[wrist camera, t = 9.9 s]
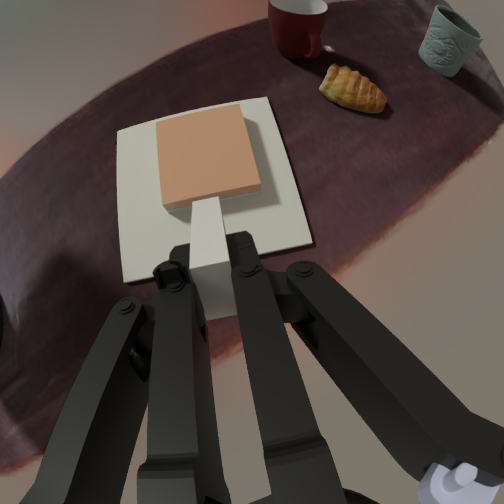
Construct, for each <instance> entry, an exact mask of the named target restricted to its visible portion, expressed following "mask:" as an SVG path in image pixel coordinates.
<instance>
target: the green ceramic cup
mask: <svg viewBox="0 0 504 504" xmlns="http://www.w3.org/2000/svg"><path fill="white" fill-rule="evenodd" d="M482 40H483V36H482V34H481V33H480V31H479V30H478V29H477V28H476V27H475V26H474V25H473V24H471V23H470V22H469V21H468V20H467V19H465V18H464V17H462V16H461V15H460V14H458V13H456V12H455V11H453V10H451V9H449V8H447V7H444V6H436V7H435V10H434V13H433V16H432V18H431V22H430V24H429V29H428V30H427V32H426V36H425V39H424V40H423V42H422V44H421V47H420V49H419V55H420V57H421V58H422V60H423V61H424V62H425V63H426V64H427V65H428V66H429V67H430V68H432V69H433V70H434V71H436V72H437V73H439V74H441V75H443V76H446V77H453V76H455V74H456V73H457V72H458V71H459V69H460V68H461V66H462V65H463V64H464V63H465V61H466V60H467V59H468V58H469V56H470V55H471V54H472V52H473V51H474V50H475V48H476V47H477V46H478V45H479V44H480V43H481V41H482Z"/></svg>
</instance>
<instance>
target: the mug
mask: <svg viewBox="0 0 504 504" xmlns="http://www.w3.org/2000/svg"><path fill="white" fill-rule="evenodd" d="M327 12H328V5H327V4H326V3H325V2H324V1H323V0H269V4H268V17H269V23H270V28H271V34H272V39H273V42H274V44H275V46H276V47H277V49H278V50H279V52H280V53H281V54H282V55H283V56H284V57H286V58H290V59H300V58H302V57H304V56H305V57H307V58H316V57H318V56H319V55H320V52H321V47H322V45H321V38H320V34H321V31H322V29H323V27H324V25H325V22H326V18H327Z"/></svg>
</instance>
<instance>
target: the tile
mask: <svg viewBox="0 0 504 504" xmlns="http://www.w3.org/2000/svg"><path fill="white" fill-rule="evenodd" d="M156 137H157V153H158V166H159V178H160V188H161V198H162V205H163V207H164V208H165V209H166V211H167V212H168V213H172V212H176V211H181V210H185V209H189V208H192V202H194V201H198V200H203V199H208V198H212V197H217V196H219V201H220V202H221V201H226V200H230V199H235V198H240V197H245V196H250V195H255V194H260V191H261V182H260V178H259V174H258V170H257V167H256V163H255V159H254V155H253V151H252V148H251V144H250V140H249V136H248V133H247V129H246V125H245V122H244V118H243V115H242V111H241V107H240V104H234V105H229V106H223V107H218V108H213V109H208V110H203V111H199V112H194V113H190V114H186V115H182V116H177V117H173V118H170V119H166V120H162V121H158V122H156Z"/></svg>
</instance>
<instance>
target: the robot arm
mask: <svg viewBox="0 0 504 504" xmlns="http://www.w3.org/2000/svg"><path fill="white" fill-rule="evenodd" d="M152 274H153V276H154V279H155V281H156V283H157V286H158V288H159V294H158V295H157V296H156V297H154V298H152V299H150V300H147V301H145V302H143V303H142V301H141V299H139V298H138V297H134V296H131V297H126V298H124V299H121V300H120V301H119V302H117V303H116V304H115V305H114V307H113V308H112V310H111V312H110V314H109V315H108V317H107V319H106V321H105V323H104V324H103V326H102V328H101V330H100V332H99V334H98V336H97V338H96V339H95V341H94V343H93V345H92V347H91V349H90V351H89V353H88V355H87V357H86V359H85V361H84V363H83V365H82V367H81V369H80V371H79V373H78V375H77V378H76V380H75V382H74V384H73V386H72V388H71V390H70V393H69V395H68V397H67V399H66V402H65V404H64V406H63V408H62V411H61V413H60V415H59V418H58V420H57V423H56V425H55V428H54V430H53V433H52V435H51V438H50V440H49V443H48V445H47V448H46V451H45V454H44V456H43V459H42V462H41V465H40V468H39V471H38V474H37V477H36V480H35V483H34V484H33V485H32V487H31V488H30V489H29V491H28V492H27V494H26V495H25V496H24V498H23V499H22V500H21V502H20V503H19V504H120V500H121V496H122V492H123V488H124V484H125V481H126V476H127V473H128V469H129V465H130V462H131V458H132V454H133V451H134V447H135V444H136V440H137V436H138V433H139V430H140V426H141V423H142V420H143V416H144V413H145V410H146V407H147V403H148V426H147V459H146V462H145V463H143V464H142V465H140V467H139V469H138V473H137V504H231V499H230V494H229V491H228V488H227V485H226V483H225V480H224V475H223V468H222V461H221V454H220V446H219V440H218V439H219V438H218V431H217V422H216V414H215V404H214V395H213V385H212V375H211V364H210V353H209V340H208V329H207V326H206V324H205V318H204V314H205V317H206V320H212V319H217V318H222V317H227V316H232V315H237V314H238V320H239V325H240V331H241V336H242V342H243V347H244V353H245V358H246V363H247V369H248V374H249V379H250V384H251V390H252V395H253V400H254V404H255V410H256V415H257V419H258V425H259V430H260V434H261V439H262V444H263V450H264V459H265V465H266V469H267V474H268V478H269V483H270V487H271V492H272V494H271V495H269V496H267V497H264V498H262V499H259V500H257V501H254V502H252V503H249V504H379V503H377V502H375V501H374V500H371V499H370V498H368V497H366V496H364V495H362V494H360V493H357V492H355V491H352V490H348V489H344V488H342V486H341V482H340V479H339V476H338V473H337V470H336V467H335V464H334V461H333V458H332V455H331V452H330V449H329V447H328V444H327V442H326V440H325V439H324V438H323V437H322V436H321V434H320V431H319V428H318V425H317V422H316V419H315V416H314V413H313V410H312V407H311V404H310V401H309V398H308V395H307V392H306V389H305V386H304V383H303V380H302V377H301V374H300V371H299V368H298V365H297V362H296V359H295V356H294V353H293V350H292V347H291V344H290V341H289V338H288V335H287V332H286V329H285V326H284V323H290V324H291V326H292V328H293V329H294V330H295V331H296V333H297V334H298V335H299V337H300V338H301V339H302V341H303V342H304V343H305V345H306V346H307V347H308V348H309V350H310V351H311V352H312V354H313V355H314V356H315V358H316V359H317V360H318V362H319V363H320V364H321V366H322V367H323V368H324V369H325V371H326V372H327V373H328V375H329V376H330V377H331V378H332V380H333V381H334V382H335V384H336V385H337V386H338V387H339V389H340V390H341V392H342V393H343V394H344V395H345V397H346V398H347V399H348V401H349V402H350V403H351V404H352V406H353V407H354V408H355V410H356V411H357V412H358V413H359V415H360V416H361V417H362V419H363V420H364V421H365V422H366V424H367V425H368V426H369V427H370V429H371V430H372V431H373V432H374V434H375V435H376V436H377V438H378V439H379V440H380V441H381V443H382V444H383V445H384V446H385V448H386V449H387V450H388V452H389V453H390V454H391V455H392V457H393V458H394V459H395V460H396V461H397V462H398V464H399V465H400V466H401V467H402V468H403V469H404V470H405V471H406V472H407V473H408V474H410V475H411V476H412V477H413V478H415V479H416V480H418V481H419V482H420V484H419V486H418V489H417V498H418V500H419V503H420V504H491V502H492V501H493V499H494V497H495V494H496V492H497V491H498V489H499V487H500V485H501V484H503V483H504V427H501V426H499V425H497V424H495V423H493V422H490V421H489V420H486V419H484V418H482V417H480V416H478V415H476V414H474V413H472V412H470V411H469V410H468V409H467V408H466V407H465V406H464V405H463V403H462V402H461V401H460V400H459V399H458V398H457V397H456V396H455V395H454V394H453V393H452V392H451V391H450V390H449V389H448V388H447V387H446V386H445V385H444V384H443V383H442V382H441V381H440V380H439V379H438V378H437V377H436V376H435V375H434V374H433V373H432V372H431V371H430V370H429V369H428V368H427V367H426V366H425V365H424V364H423V363H422V362H421V361H420V360H419V359H418V358H417V357H416V356H415V355H414V354H413V353H412V352H411V351H410V350H409V349H408V348H407V347H406V346H405V345H404V344H403V343H402V342H401V341H400V340H399V339H398V338H397V337H396V336H395V335H393V334H392V333H391V332H390V331H389V330H388V329H387V328H386V327H385V326H384V325H383V324H382V323H381V322H380V321H379V320H378V319H377V318H376V317H375V316H374V315H372V314H371V313H370V312H369V311H368V310H367V309H366V308H365V307H364V306H363V305H362V304H361V303H360V302H358V300H356V299H355V298H354V297H353V296H352V295H351V294H350V293H349V292H348V291H347V290H346V289H345V288H343V287H342V286H341V285H340V284H339V283H338V282H337V281H336V280H335V279H334V278H333V277H331V276H330V275H329V274H328V273H327V272H326V271H325V270H324V269H323V268H322V267H320V266H319V265H318V264H316V263H315V262H312V261H298V262H294V263H292V264H291V265H289V266H288V268H287V269H286V272H274V271H270V270H268V269H266V268H265V267H264V266H263V264H261V261H260V258H259V255H258V252H257V249H256V246H255V243H254V240H253V237H252V235H251V234H250V233H249V232H247V231H241V232H236V233H231V234H226V230H225V225H224V220H223V215H222V211H221V206H220V201H219V196H217V197H212V198H208V199H203V200H198V201H194V202H192V217H191V238H190V243H187V244H183V245H178V246H174V248H173V249H172V250H171V252H170V255H169V260H167V261H164V262H162V263H160V264H159V265H157V266H156V267H155V268H154V270H153V272H152ZM1 340H2V312H1V305H0V346H1Z"/></svg>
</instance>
